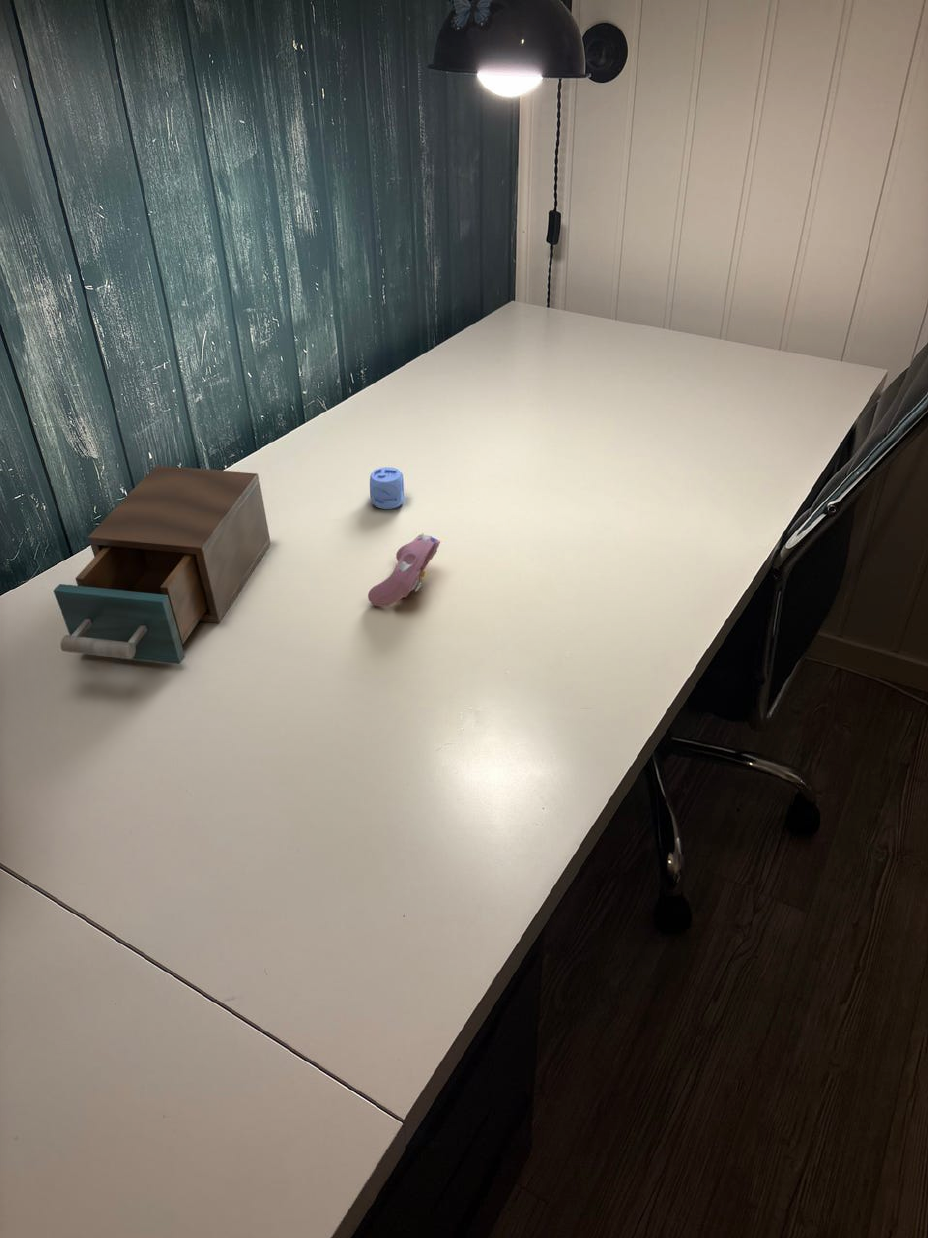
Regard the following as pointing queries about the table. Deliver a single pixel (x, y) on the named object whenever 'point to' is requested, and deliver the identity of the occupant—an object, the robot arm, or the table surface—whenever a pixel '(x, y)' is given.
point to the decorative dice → (387, 488)
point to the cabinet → (195, 526)
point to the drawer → (133, 604)
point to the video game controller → (405, 571)
